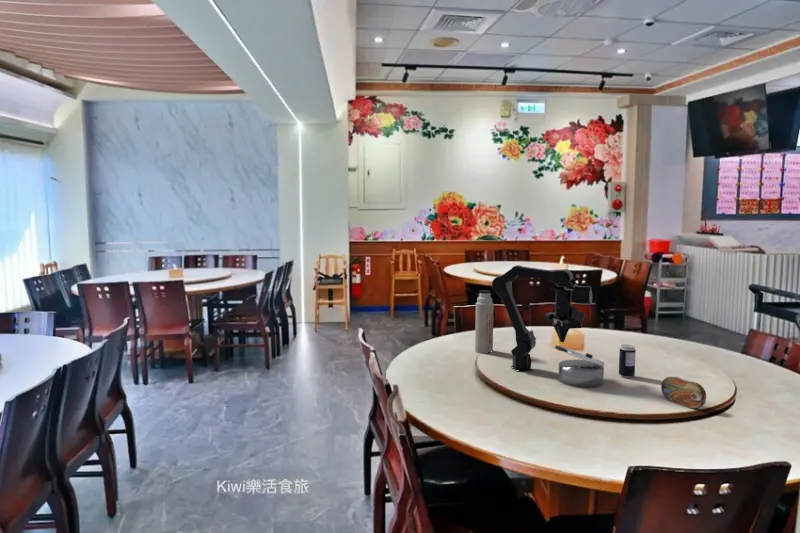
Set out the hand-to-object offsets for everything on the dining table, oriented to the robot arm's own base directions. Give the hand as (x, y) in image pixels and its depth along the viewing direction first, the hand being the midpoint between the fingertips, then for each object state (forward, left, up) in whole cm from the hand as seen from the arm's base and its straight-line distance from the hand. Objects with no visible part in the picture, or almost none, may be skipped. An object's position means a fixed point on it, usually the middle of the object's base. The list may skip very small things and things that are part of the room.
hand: (562, 342), depth 210 cm
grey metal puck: (+3, -8, -13) cm, 16 cm away
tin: (+24, -37, -13) cm, 46 cm away
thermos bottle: (-17, +41, -13) cm, 46 cm away
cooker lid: (+2, -8, -4) cm, 10 cm away
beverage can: (+24, -6, -13) cm, 28 cm away
